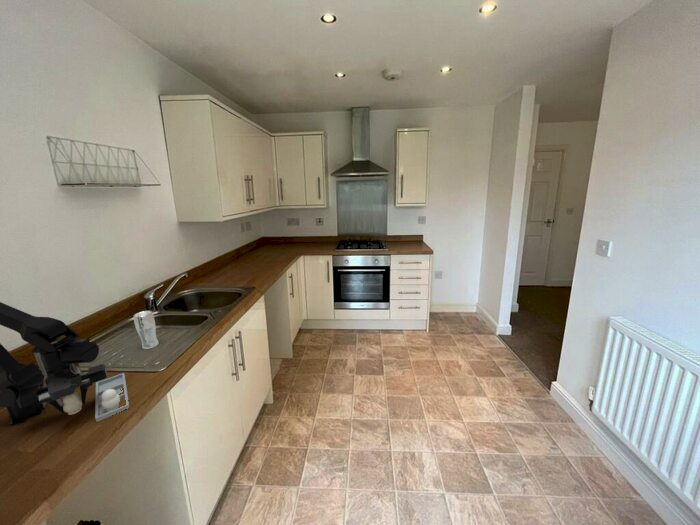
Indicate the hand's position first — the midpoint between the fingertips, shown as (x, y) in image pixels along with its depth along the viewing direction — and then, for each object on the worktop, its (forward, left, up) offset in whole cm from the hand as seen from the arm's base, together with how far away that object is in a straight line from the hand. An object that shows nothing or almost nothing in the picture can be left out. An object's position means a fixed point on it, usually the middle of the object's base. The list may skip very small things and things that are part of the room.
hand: (74, 408), depth 88 cm
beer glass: (+23, +31, -1) cm, 39 cm away
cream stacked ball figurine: (0, 0, -1) cm, 1 cm away
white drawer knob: (+9, -7, -1) cm, 12 cm away
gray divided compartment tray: (+9, 0, -1) cm, 9 cm away
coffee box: (-3, +19, -2) cm, 19 cm away
